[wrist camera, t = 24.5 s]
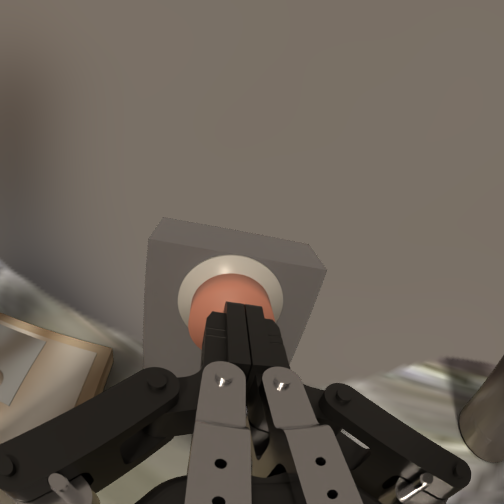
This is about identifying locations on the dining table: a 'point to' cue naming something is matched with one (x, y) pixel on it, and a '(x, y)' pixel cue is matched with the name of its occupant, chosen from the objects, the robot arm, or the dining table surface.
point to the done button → (224, 300)
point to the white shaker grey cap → (5, 498)
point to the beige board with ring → (45, 375)
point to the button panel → (212, 264)
